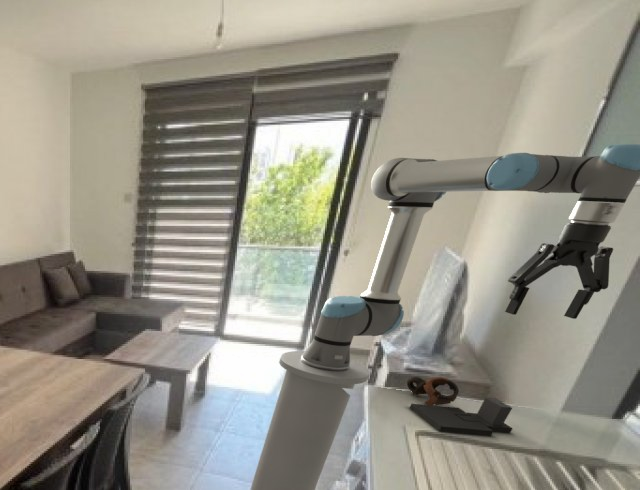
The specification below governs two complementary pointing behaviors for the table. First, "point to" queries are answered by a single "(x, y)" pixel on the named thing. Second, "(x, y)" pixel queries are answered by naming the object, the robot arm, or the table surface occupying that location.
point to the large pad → (449, 420)
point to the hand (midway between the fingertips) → (539, 315)
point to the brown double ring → (433, 389)
